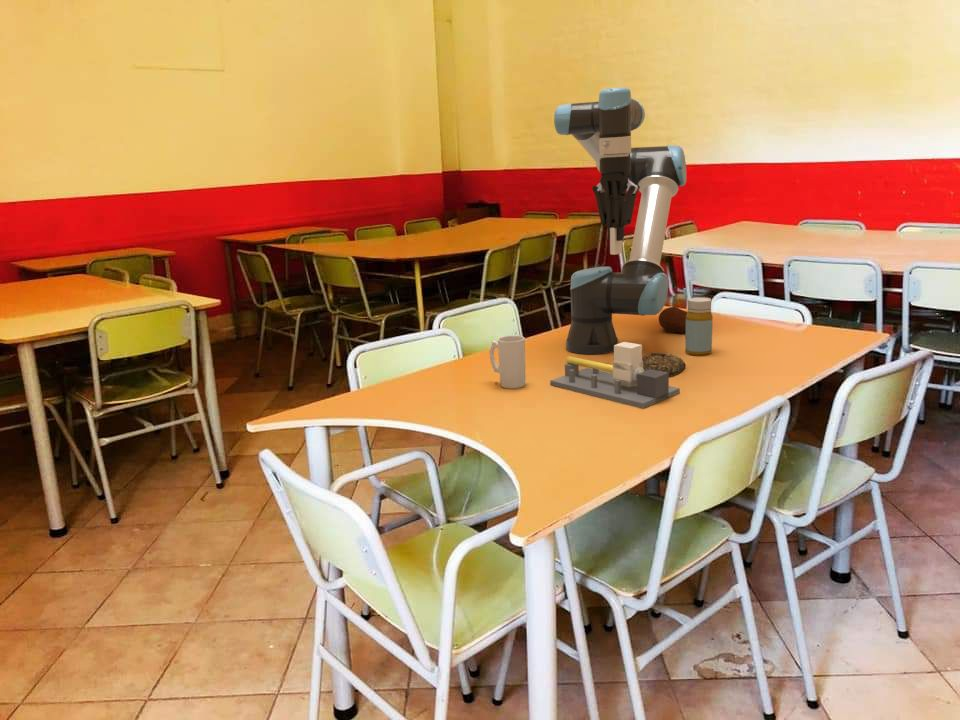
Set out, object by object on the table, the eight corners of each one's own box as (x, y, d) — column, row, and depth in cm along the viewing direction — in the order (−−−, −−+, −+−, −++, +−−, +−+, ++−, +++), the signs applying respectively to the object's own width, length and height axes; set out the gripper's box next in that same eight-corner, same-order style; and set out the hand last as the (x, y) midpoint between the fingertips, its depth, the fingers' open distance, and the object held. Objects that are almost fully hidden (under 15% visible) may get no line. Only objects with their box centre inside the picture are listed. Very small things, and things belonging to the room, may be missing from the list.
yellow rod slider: (550, 385, 185) (549, 359, 184) (587, 372, 194) (586, 347, 192) (643, 408, 165) (643, 379, 163) (679, 393, 174) (680, 365, 172)
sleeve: (613, 383, 176) (612, 345, 173) (625, 378, 179) (625, 341, 177) (630, 387, 172) (630, 348, 170) (642, 382, 175) (643, 344, 173)
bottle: (683, 355, 204) (684, 301, 201) (686, 349, 211) (687, 296, 207) (710, 356, 202) (711, 302, 198) (712, 350, 208) (714, 297, 204)
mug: (531, 383, 188) (530, 337, 185) (517, 390, 183) (514, 343, 179) (499, 378, 194) (496, 333, 190) (483, 385, 188) (481, 339, 185)
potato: (687, 336, 225) (687, 310, 222) (652, 332, 232) (652, 307, 230) (697, 331, 230) (698, 306, 228) (663, 327, 237) (663, 303, 235)
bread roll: (692, 369, 193) (692, 350, 192) (667, 381, 184) (668, 361, 183) (648, 361, 202) (648, 344, 200) (623, 373, 193) (623, 354, 192)
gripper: (584, 157, 182) (586, 254, 189) (627, 155, 173) (627, 257, 179) (603, 156, 187) (605, 250, 193) (646, 154, 178) (646, 253, 184)
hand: (616, 253), depth 186 cm, fingers closed
